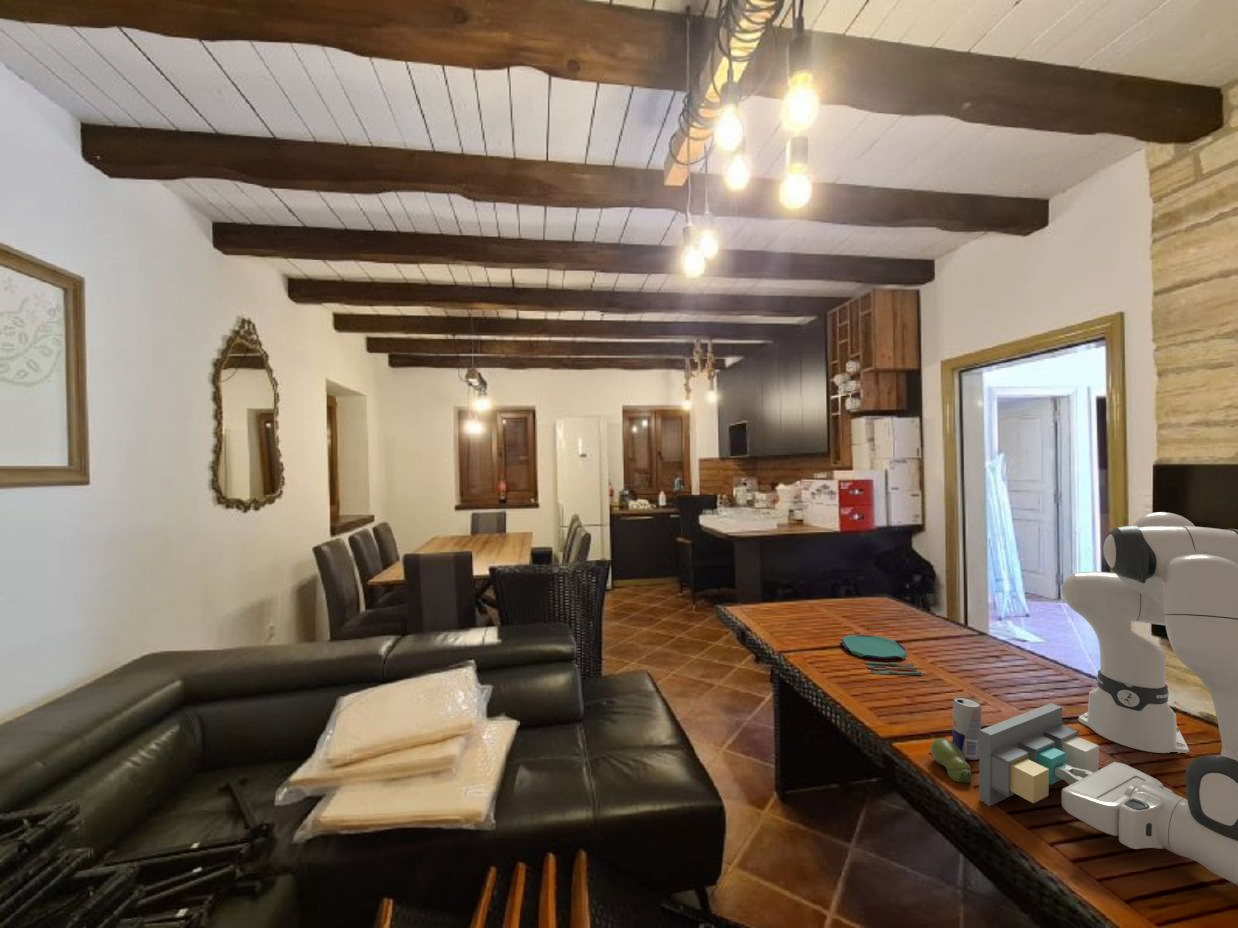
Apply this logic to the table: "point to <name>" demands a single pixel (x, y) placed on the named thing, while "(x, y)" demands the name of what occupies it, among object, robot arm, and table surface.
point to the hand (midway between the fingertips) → (1058, 768)
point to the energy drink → (967, 726)
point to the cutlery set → (878, 652)
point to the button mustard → (1029, 780)
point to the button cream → (1081, 753)
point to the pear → (951, 760)
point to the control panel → (1017, 747)
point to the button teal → (1051, 761)
